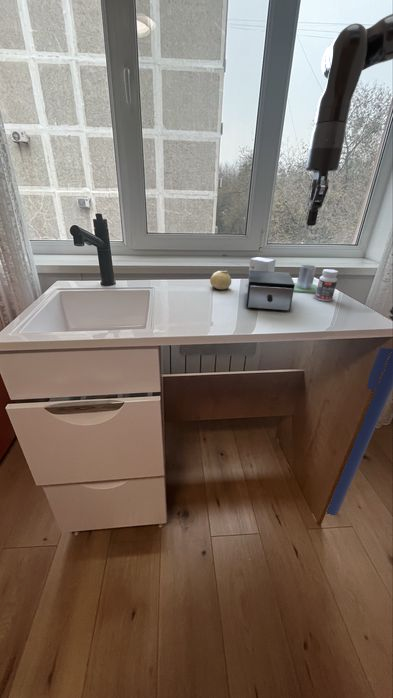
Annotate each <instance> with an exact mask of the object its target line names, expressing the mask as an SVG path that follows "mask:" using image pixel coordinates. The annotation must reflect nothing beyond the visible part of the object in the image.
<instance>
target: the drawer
mask: <svg viewBox="0 0 393 698" xmlns="http://www.w3.org/2000/svg"><path fill="white" fill-rule="evenodd" d="M292 291H293V288H289V287H286V286H271V285H256V284H252V285H251V286H250V294H249V303H248V307H252V308H251V309H253V308H265V309H264V310H266V309H278V310H277V311H279V310H289V307H290V301H291V296H292ZM290 308H291V307H290Z"/></svg>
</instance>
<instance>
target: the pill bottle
mask: <svg viewBox="0 0 393 698" xmlns="http://www.w3.org/2000/svg"><path fill="white" fill-rule="evenodd" d="M338 274H339V270H336V269H331V268H326V269H325V268H324V269H323V270H322V275H321V276H319V279H318V283H317V285H316V287H317V291H316V293H315V295H314V298H315V299H316V300H318V301H322V302H330V301H332V300H333V298H334V294H335V290H336V287H337V283H338V278H337V276H338Z"/></svg>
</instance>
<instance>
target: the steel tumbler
mask: <svg viewBox="0 0 393 698" xmlns="http://www.w3.org/2000/svg"><path fill="white" fill-rule="evenodd" d="M316 271H317V266H315V265H312V264H301V265H300V267H299V272H298V276H297V281H296V283H297V288H300V289H311V288H312V284H313V283H314V280H315V274H316ZM313 285H314V284H313Z"/></svg>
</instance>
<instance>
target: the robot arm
mask: <svg viewBox="0 0 393 698" xmlns="http://www.w3.org/2000/svg"><path fill="white" fill-rule="evenodd" d="M392 60H393V13H391V14H388V15H386V16H384V17H382V18H381V19H379V20H378V21H377V22H376V23H374V24H373V25H372V26H370V27H367V28H366V27H365V26H364V25H363V24H361V23H355V22H354V23H352V24H351V23H350V24H349V25H347V26H346V27H345V28H344V29H342V30H341V31H340V32H339V33H338V35H337V36H336V37H335V38H334V39H333V41H331V43H330V44H329V45H328V47H327V48H326V50H325V52H324V54H323V56H322V60H321V71H322V74H323V76H324V77H325V78H326V80H327V81H326V85H325V88H324V91H323V93H322V95H320V97H319V100H318V105H317V109H316V115H315V120H314V126H313V130H312V133H311V137H310V142H309V148H308V154H307V161H306V164H305V165H306V166H305V170H306V171H307V172H313V175H312V179H309V180H310V181H309V183H308V184H309V185H308V193H307V194H308V195H307V204H306V206H307V209H308V213H307V217H306V222H305V224H306V225H307V226H312V227H313V226H314V227H315V226H316V223H317V219H318V215H319V211H320V209H321V208H322V207H323V204H324V201H325V199H326V195H327V193H328V190H329V188H330V187H329V183H330V179H328V177H329V172H336V171H338V169H339V166H340V161H341V157H342V152H343V147H344V143H345V139H346V133H347V124H348V120H349V119H348V118H349V115H350V110H351V105H352V101H353V100H352V99H353V97H354V93H355V91H356V89H357V87H358V84H359V81H360V78H361V75H362V72H363V71H364V70H366V69H368V68H371V67H373V66H375V65H379V64H382V63H385V62H388V61H392ZM388 313H390V314H391V315H388V318H389V319H391V321H393V305H392V306H391V308H390V310H389V312H388Z"/></svg>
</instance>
